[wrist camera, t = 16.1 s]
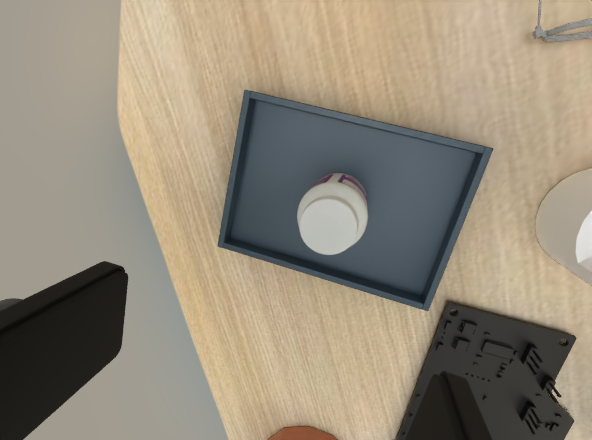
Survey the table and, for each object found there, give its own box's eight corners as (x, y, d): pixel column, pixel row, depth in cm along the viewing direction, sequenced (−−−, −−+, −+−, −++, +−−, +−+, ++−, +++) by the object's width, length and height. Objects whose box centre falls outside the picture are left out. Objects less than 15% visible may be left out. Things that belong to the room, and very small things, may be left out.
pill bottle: (314, 229, 33) (293, 267, 24) (307, 175, 32) (282, 193, 22) (370, 225, 32) (371, 262, 22) (365, 169, 30) (363, 184, 21)
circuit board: (446, 299, 32) (454, 315, 29) (608, 342, 30) (634, 365, 27) (378, 483, 39) (379, 511, 36) (505, 528, 37) (517, 562, 34)
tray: (225, 239, 36) (217, 246, 34) (252, 92, 31) (244, 89, 29) (424, 300, 33) (428, 311, 31) (485, 147, 28) (493, 148, 26)
